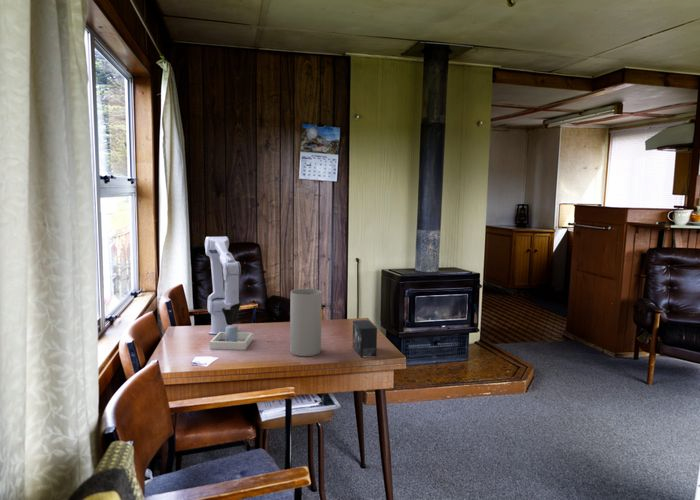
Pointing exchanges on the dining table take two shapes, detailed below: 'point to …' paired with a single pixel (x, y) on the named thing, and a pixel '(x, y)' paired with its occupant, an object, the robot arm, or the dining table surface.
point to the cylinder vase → (305, 322)
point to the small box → (365, 338)
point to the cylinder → (231, 333)
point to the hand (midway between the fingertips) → (231, 322)
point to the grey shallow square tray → (218, 344)
